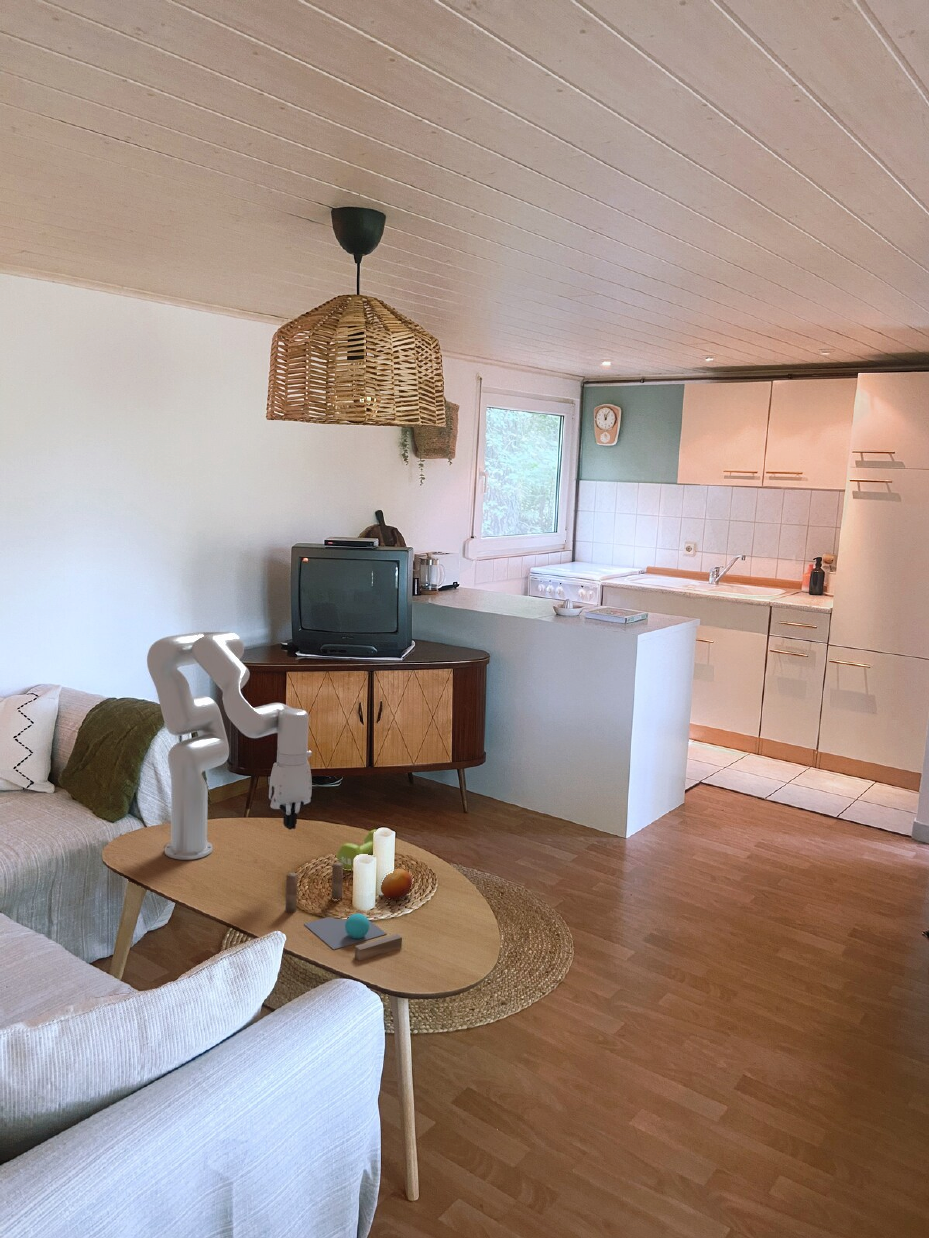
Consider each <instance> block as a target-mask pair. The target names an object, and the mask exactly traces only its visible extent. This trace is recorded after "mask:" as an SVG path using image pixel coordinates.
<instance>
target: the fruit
mask: <svg viewBox="0 0 929 1238" xmlns="http://www.w3.org/2000/svg"><path fill="white" fill-rule="evenodd" d="M393 870H394V871H393V873H390V874H388V875H386V877H385V878H384V880H383V882H382V885H381V884H380V891H381V893H382V894H383V896H384V897H386V898H387V899H388V898H390V899H389V900H391V899H396V900H395V901H398V899H399V900H403V899H405V900H406V897H407V896H408V895H410V894H409V893H410V892H411V889H412V885H413V878H412V875H411V874H410V873H409V872H408V871H407V870H405V869H403V868H396V869H395V868H394V869H393Z"/></svg>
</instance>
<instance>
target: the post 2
mask: <svg viewBox="0 0 929 1238" xmlns="http://www.w3.org/2000/svg"><path fill="white" fill-rule="evenodd" d="M343 874H344V870H343V863H339V862H338V861H337V862H334V863H332V873H331V877H332V878H331V897H332V898H333V899H337V900H338V899H341V898H342V899H343V883H344V882H343V881H344V880H343V878H344V875H343ZM331 897H330V898H331Z"/></svg>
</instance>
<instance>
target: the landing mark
mask: <svg viewBox="0 0 929 1238" xmlns="http://www.w3.org/2000/svg"><path fill="white" fill-rule="evenodd" d="M329 917H330V916H327V917H323V918H320V919H317V920H313V921H309V922H305V923H304V924H303V925H304V926H305V927H306V928H307V929H308V930H310V931H311V932H312V933H313V934H314V935H315V936H317V937H318V938H319V939H320V940H321V941H323V942H324V943H325V944H326V945H327V946H328V947H329V948H330V949H332V950H339V949H342V948H345V947H348V946H352V945H356V944H359V943H361V942H366V941H369V940H372V939H373V940H374V939H375V938H380V937H383V936H386V935H387V932H385V931H384V930H383V929H381V928H380V927H378V925H376V924H375V923H373V922H372V921H370V919H368V921H369V930H368V932H367V934H366V935H365V936H364V937H362V938H359V939H355V938H352V937H350V936H349V935H348V934H347V932H346V929H345V924H346V921H347V920H341V919H334V918H329Z"/></svg>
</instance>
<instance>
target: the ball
mask: <svg viewBox="0 0 929 1238" xmlns="http://www.w3.org/2000/svg"><path fill="white" fill-rule="evenodd" d="M359 913H360V912H359ZM359 913H356V914H353V915H351V916H350V917H349V918H348V919H347V921H346V924H345V929H346V932H347V934H348V935H349V936H350V937H352V938H355V939H359V938H362V937H364V936H365V935H366V934H367V932H368V930H369V921H370V920H369V919H368V917H367V916H366V915H365V914H363V913H360V914H359ZM368 920H369V921H368Z"/></svg>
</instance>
